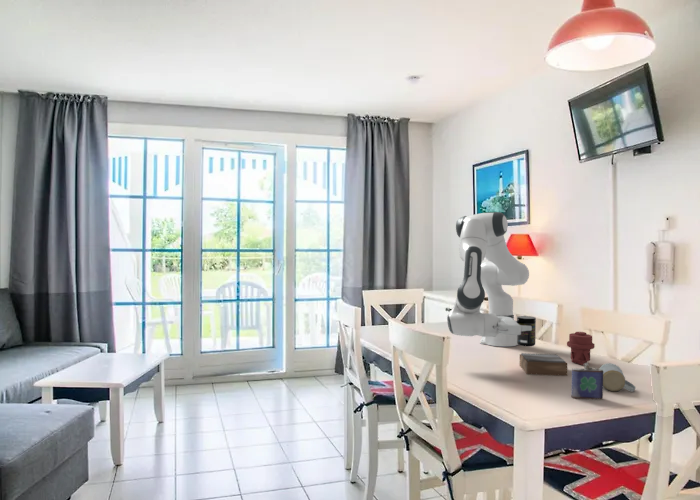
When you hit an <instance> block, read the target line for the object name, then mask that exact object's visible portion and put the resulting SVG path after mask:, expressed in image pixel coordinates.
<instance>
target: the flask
mask: <svg viewBox="0 0 700 500" xmlns="http://www.w3.org/2000/svg"><path fill="white" fill-rule="evenodd" d="M570 395H571V398H572V399H576V400H577V399H578V400H580V399H582V400H599V401H600V400H603V395H604V386H603V370H601V369H599V368H598V367H595V368H593V367H591V366H589V362H588V363H585V364H584V365H583V368H582V367H581V368H577V367H575V368H572V369H571V394H570Z"/></svg>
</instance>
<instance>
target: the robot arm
mask: <svg viewBox="0 0 700 500" xmlns="http://www.w3.org/2000/svg"><path fill="white" fill-rule="evenodd" d="M508 223H509V222H508V219H507V216H506V215H505V214H504V213H503V212H501V211H494V212H482V213H481V212H480V213H475V214H470V215H464V216H462V217H459V218H458V220H457V221H456V223H455V231H456V235H457V236H458V238H459V244H458V246H459V247H458V251H459V258H460V260H462V261H463V263H464V267H463V278H462V279H463V280H462V282H461V283H460V285H459V286H458V287H457V293H456V297H455V298H456V299H455V302H454V305H453V307H452V309H451V311H450V312H449V314H448V315H447V316H446V317H447V318H446V319H447V326H448V330H449V332H450V333H451V334H452V335H456V336H459V337H476V336H479V337H481V338H480V340H479V343H480V344H482V345H488V346H493V347H515V346H519V345H518V344H517V335H521V331H531V330H532V326H530V325H519V324H518V323H517V320H515V315H514V299H513V297H512V296H511V295H510V294H509V293H507V292H506V291H504V289H503V286H510V287H511V286H512V287H513V286H522V285H525V284H526V283H527V282H528V279H529V277H530V271H529V269H528V267H527V265H526V264H524V263H523V262H521V261H519V260H518V259H517V258H516V257H515V256H513V255H512V252H510V250H509V248H508V246H507V242H506V239H505V234H506V233H507V232H508V226H509V225H508ZM485 259H486V260H487V261H484V260H485ZM483 261H484V262H483ZM486 295H487V300H488V313H486V312H481V307H482V304H483V302H484V300H485V297H486Z"/></svg>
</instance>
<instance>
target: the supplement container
mask: <svg viewBox="0 0 700 500" xmlns="http://www.w3.org/2000/svg"><path fill="white" fill-rule="evenodd" d="M516 321H517V323H518V324H519V325H530V326H532V330H531V331H521V335H517V344H518V345H517V346H521V347H534V346H536V338H537V337H536V333H537V331H536V327H537V324H536V323H537V318H536V316H532V315H531V316H530V315H518V316H516Z"/></svg>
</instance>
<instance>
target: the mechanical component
mask: <svg viewBox="0 0 700 500" xmlns="http://www.w3.org/2000/svg"><path fill="white" fill-rule="evenodd" d="M568 339H569V340H568V341H566V347H568V348H569V349H570V359H571V363H574V364H577V365H580V366H585V363H588V364H589V361H590V360H591V350H593V349H595V347H596V346H595V343H593V335H591V334H587V332H584V331H575V332H573V333H569V338H568Z"/></svg>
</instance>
